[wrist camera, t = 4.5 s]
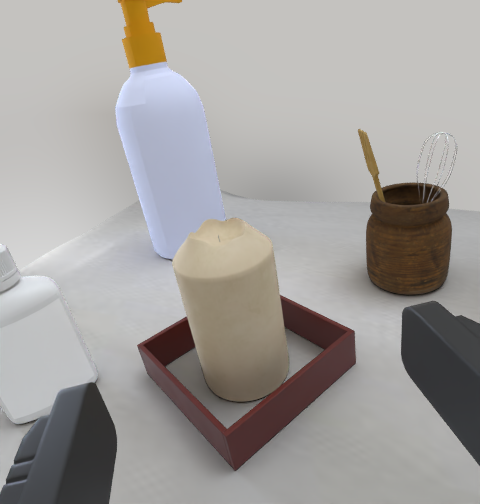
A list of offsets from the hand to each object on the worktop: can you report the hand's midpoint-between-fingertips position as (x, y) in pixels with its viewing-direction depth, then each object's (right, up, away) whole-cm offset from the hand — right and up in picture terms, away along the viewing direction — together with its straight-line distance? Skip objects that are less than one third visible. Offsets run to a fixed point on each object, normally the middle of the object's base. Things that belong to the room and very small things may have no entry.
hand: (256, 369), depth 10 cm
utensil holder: (+13, +1, +21) cm, 24 cm away
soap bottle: (-5, +4, +34) cm, 35 cm away
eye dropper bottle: (-13, -7, +16) cm, 21 cm away
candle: (0, -5, +15) cm, 15 cm away
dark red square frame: (0, -4, +15) cm, 15 cm away
